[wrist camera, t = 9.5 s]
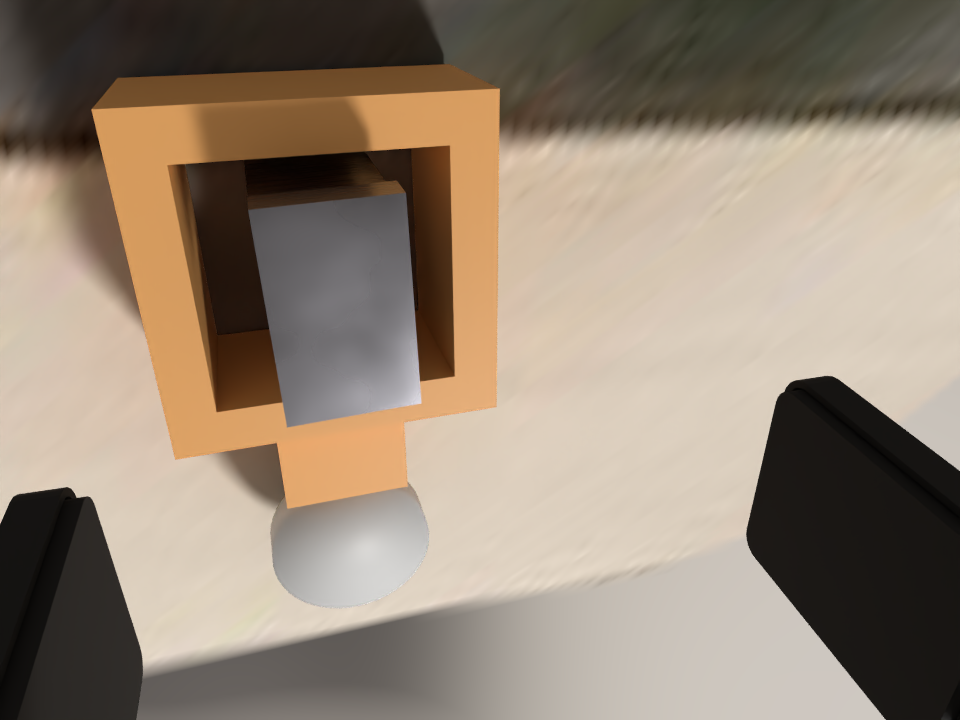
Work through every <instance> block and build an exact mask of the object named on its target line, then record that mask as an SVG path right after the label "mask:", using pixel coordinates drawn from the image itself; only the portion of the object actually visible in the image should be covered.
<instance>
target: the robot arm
mask: <svg viewBox="0 0 960 720" xmlns="http://www.w3.org/2000/svg"><path fill="white" fill-rule="evenodd" d="M746 536H747V542H748V546H749V548H750V550H751V553H752V554H753V556H754V557H755V558H756V560H757V561H758V562H759V563H760V565H761V566H762V567H763V568H764V569H765V571H766V572H767V573H768V574H769V576H770V577H771V578H772V579H773V581H774V582H775V583H776V584H777V585H778V587H779V588H780V589H781V591H782V592H783V593H784V594H785V596H786V597H787V598H788V599H789V600H790V602H791V603H792V604H793V605H794V607H795V608H796V609H797V610H798V612H799V613H800V614H801V615H802V616H803V618H804V619H805V620H806V622H807V623H808V624H809V625H810V626H811V628H812V629H813V630H814V631H815V633H816V634H817V635H818V636H819V637H820V639H821V640H822V641H823V642H824V644H825V645H826V646H827V647H828V649H829V650H830V651H831V652H832V654H833V655H834V656H835V657H836V659H837V660H838V661H839V662H840V664H841V665H842V666H843V667H844V668H845V669H846V671H847V672H848V673H849V675H850V676H851V677H852V678H853V680H854V681H855V682H856V683H857V685H858V686H859V687H860V688H861V690H862V691H863V692H864V693H865V694H866V696H867V697H868V698H869V699H870V701H871V702H872V703H873V704H874V706H875V707H876V708H877V709H878V710H879V712H880V713H881V714H882V715H883V717H884V718H885V719H886V720H960V471H959V470H957V469H956V468H955V467H954V466H952V465H951V464H950V463H948V462H947V461H946V460H944V459H943V458H942V457H940V456H939V455H938V454H936V453H935V452H934V451H933V450H931V449H930V448H929V447H927V446H926V445H925V444H923V443H922V442H920V441H919V440H918V439H917V438H915V437H914V436H913V435H911V434H910V433H909V432H907V431H906V430H905V429H903V428H902V427H901V426H899V425H898V424H897V423H895V422H894V421H893V420H891V419H890V418H889V417H888V416H886V415H885V414H884V413H882V412H881V411H880V410H878V409H877V408H876V407H874V406H873V405H872V404H870V403H869V402H868V401H866V400H865V399H864V398H862V397H861V396H860V395H858V394H857V393H856V392H854V391H853V390H852V389H850V388H849V387H848V386H846V385H845V384H844V383H843V382H841V381H840V380H838V379H837V378H835V377H833V376H823V377H816V378H809V379H803V380H796V381H793V382H791V383H790V384H789V385H788V386H787V387H786V389H785V392H784V393H781V394H780V395H779V397H778V398H777V401H776V405H775V409H774V413H773V418H772V422H771V426H770V431H769V435H768V440H767V444H766V448H765V453H764V457H763V461H762V466H761V470H760V474H759V479H758V483H757V487H756V492H755V496H754V500H753V505H752V509H751V513H750V518H749V522H748V526H747V533H746ZM142 676H143V663H142V654H141V649H140V645H139V642H138V639H137V636H136V633H135V630H134V627H133V623H132V620H131V617H130V614H129V611H128V608H127V605H126V602H125V598H124V595H123V592H122V589H121V586H120V583H119V580H118V577H117V574H116V570H115V567H114V564H113V561H112V558H111V555H110V552H109V549H108V545H107V542H106V539H105V536H104V533H103V530H102V527H101V524H100V520H99V517H98V514H97V511H96V508H95V505H94V503H93V501H92V499H91V498H90V497H81V498H76V495H75V493H74V492H73V491H72V489H71V488H68V487H66V488H59V489H52V490H45V491H38V492H31V493H25V494H18V495H16V496H14V497H13V498H12V500H11V501H10V503H9V506H8V508H7V510H6V512H5V515H4V517H3V519H2V522H1V524H0V720H136V717H137V710H138V703H139V697H140V691H141V684H142Z"/></svg>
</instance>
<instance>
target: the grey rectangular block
mask: <svg viewBox="0 0 960 720" xmlns="http://www.w3.org/2000/svg"><path fill="white" fill-rule="evenodd" d="M244 165H245V175H246V184H247V193H248V196H247V205H248V213H249V218H250V224H251V229H252V235H253V240H254V246H255V252H256V257H257V263H258V268H259V274H260V279H261V285H262V291H263V296H264V302H265V307H266V313H267V318H268V324H269V330H270V335H271V341H272V346H273V352H274V357H275V363H276V369H277V374H278V380H279V385H280V391H281V396H282V402H283V408H284V413H285V419H286V424H287V427H293V426H298V425H304V424H310V423H315V422H321V421H326V420H332V419H337V418H343V417H349V416H354V415H360V414H365V413H371V412H376V411H382V410H388V409H393V408H399V407H404V406H410V405H415V404H421V389H420V376H419V362H418V349H417V335H416V322H415V308H414V295H413V281H412V268H411V254H410V241H409V227H408V214H407V200H406V192H405V191H404V190H403V188H402V187H401V186H400V184H399V183H398V182H397V180H396V181H387V182H386V181H385V180H384V178H383V177H382V175H381V174H380V173H379V171H378V170H377V168H376V167H375V166H374V164H373V163H372V161H371V160H370V159H369V157H368V156H367V154H366V153H365V152H364V151H362V152H347V153H333V154H319V155H304V156H290V157H276V158H261V159H247V160H244Z"/></svg>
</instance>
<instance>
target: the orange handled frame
mask: <svg viewBox="0 0 960 720" xmlns="http://www.w3.org/2000/svg"><path fill="white" fill-rule="evenodd" d="M499 98H500V89H499V88H497V87H495V86H493V85H491V84H489V83H487V82H485V81H483V80H481V79H479V78H477V77H475V76H473V75H471V74H469V73H466V72H464V71H462V70H460V69H458V68H456V67H454V66H452V65H450V64H442V65H418V66H394V67H370V68H345V69H321V70H297V71H273V72H249V73H225V74H200V75H176V76H152V77H128V78H117V79H116V80H115V82H114V83H113V84H112V85H111V87H110V88H109V89H108V90H107V91H106V93H105V94H104V95H103V96H102V97H101V99H100V100H99V101H98V102H97V103H96V105H95V106H94V107H93V108H92V109H91V110H92V114H93V118H94V122H95V126H96V130H97V135H98V139H99V143H100V147H101V151H102V156H103V160H104V164H105V168H106V172H107V176H108V181H109V185H110V189H111V193H112V197H113V201H114V206H115V210H116V214H117V218H118V222H119V226H120V231H121V235H122V239H123V243H124V247H125V251H126V256H127V260H128V264H129V268H130V272H131V276H132V281H133V285H134V289H135V293H136V297H137V302H138V306H139V310H140V314H141V318H142V322H143V327H144V331H145V335H146V339H147V343H148V347H149V352H150V356H151V360H152V364H153V368H154V372H155V377H156V381H157V385H158V389H159V393H160V397H161V402H162V406H163V410H164V414H165V418H166V422H167V427H168V431H169V435H170V439H171V443H172V448H173V452H174V456H175V460H176V459H182V458H188V457H194V456H200V455H207V454H213V453H219V452H225V451H231V450H237V449H243V448H249V447H255V446H262V445H268V444H274V443H277V446H278V453H279V459H280V465H281V472H282V478H283V484H284V491H285V497H284V498H283V499H282V501H281V502H280V504H279V506H278V507H277V509H276V511H275V514H274V516H273V519H272V523H271V532H270V533H271V545H272V557H273V567H274V570H275V574H276V576H277V578H278V580H279V582H280V583H281V584H282V586H283V587H284V588H285V589H286V590H287V591H288V592H289V593H290V594H292V595H293V596H294V597H296V598H298V599H299V600H301V601H303V602H306V603H309V604H311V605H315V606H319V607H326V608H350V607H355V606H360V605H364V604H368V603H371V602H373V601H376V600H379V599H381V598H383V597H385V596H387V595H389V594H390V593H392V592H394V591H395V590H397V589H398V588H399V587H401V586H402V585H403V584H404V583H405V582H407V581H408V580H409V579H410V578H411V577H412V575H413V574H414V573H415V572H416V571H417V569H418V568H419V566H420V565H421V563H422V561H423V559H424V557H425V554H426V552H427V548H428V543H429V530H428V525H427V521H426V518H425V516H424V513H423V510H422V507H421V505H420V502H419V499H418V496H417V494H416V492H415V491H414V489H413V488H412V486H411V485H410V484H409V483H408V482H407V466H406V449H405V432H404V422H408V421H414V420H421V419H427V418H433V417H439V416H445V415H451V414H457V413H463V412H469V411H476V410H482V409H488V408H494V407H496V402H497V301H498V199H499ZM405 148H411V157H412V179H413V201H414V223H415V245H416V267H417V289H418V310H417V311H415V322H416V335H417V349H418V362H419V376H420V389H421V404H415V405H410V406H404V407H399V408H393V409H388V410H382V411H376V412H371V413H365V414H360V415H354V416H349V417H343V418H337V419H332V420H326V421H321V422H315V423H310V424H304V425H298V426H293V427H287V424H286V419H285V413H284V408H283V402H282V396H281V391H280V385H279V380H278V374H277V369H276V363H275V357H274V352H273V346H272V341H271V335H270V330H269V329H266V330H258V331H250V332H242V333H234V334H226V335H218V336H217V330H216V325H215V320H214V314H213V309H212V304H211V298H210V293H209V288H208V283H207V277H206V272H205V267H204V261H203V256H202V251H201V246H200V240H199V235H198V230H197V224H196V219H195V214H194V208H193V203H192V198H191V193H190V187H189V182H188V177H187V171H186V166H185V164H190V163H204V162H218V161H233V160H247V159H261V158H276V157H290V156H304V155H319V154H333V153H347V152H362V151H376V150H390V149H405Z"/></svg>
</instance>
